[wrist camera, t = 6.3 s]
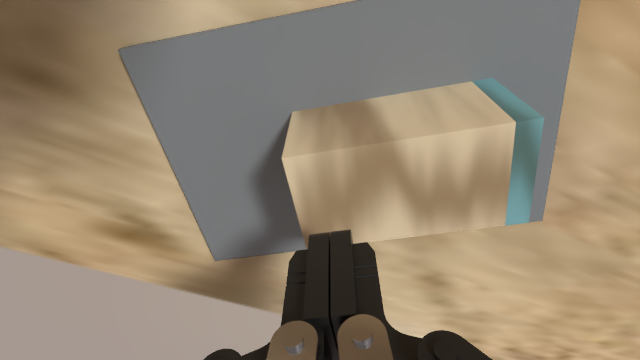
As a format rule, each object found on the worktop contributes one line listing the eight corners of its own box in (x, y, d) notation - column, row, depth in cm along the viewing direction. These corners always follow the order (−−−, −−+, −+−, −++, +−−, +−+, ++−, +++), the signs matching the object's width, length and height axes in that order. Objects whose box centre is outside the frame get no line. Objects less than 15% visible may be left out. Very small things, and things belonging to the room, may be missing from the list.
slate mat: (122, 47, 18) (117, 49, 17) (581, -45, 15) (588, -45, 15) (217, 255, 25) (215, 261, 25) (538, 215, 23) (542, 220, 22)
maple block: (281, 158, 15) (544, 117, 13) (292, 111, 19) (493, 77, 18) (306, 250, 17) (528, 222, 16) (311, 191, 21) (487, 165, 20)
